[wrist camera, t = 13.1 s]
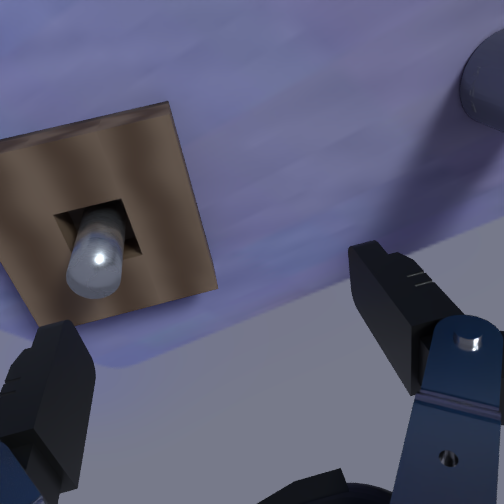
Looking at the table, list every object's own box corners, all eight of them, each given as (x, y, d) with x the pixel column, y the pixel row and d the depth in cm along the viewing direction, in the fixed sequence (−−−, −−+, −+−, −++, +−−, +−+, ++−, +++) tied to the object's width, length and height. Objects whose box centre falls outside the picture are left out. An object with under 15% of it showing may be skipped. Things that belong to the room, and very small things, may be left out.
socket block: (168, 100, 40) (169, 114, 36) (212, 262, 49) (218, 288, 45) (-33, 147, 39) (-56, 166, 34) (53, 304, 48) (43, 334, 44)
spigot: (118, 192, 42) (111, 249, 33) (131, 228, 44) (127, 291, 35) (77, 202, 42) (57, 263, 33) (92, 237, 44) (77, 304, 35)
